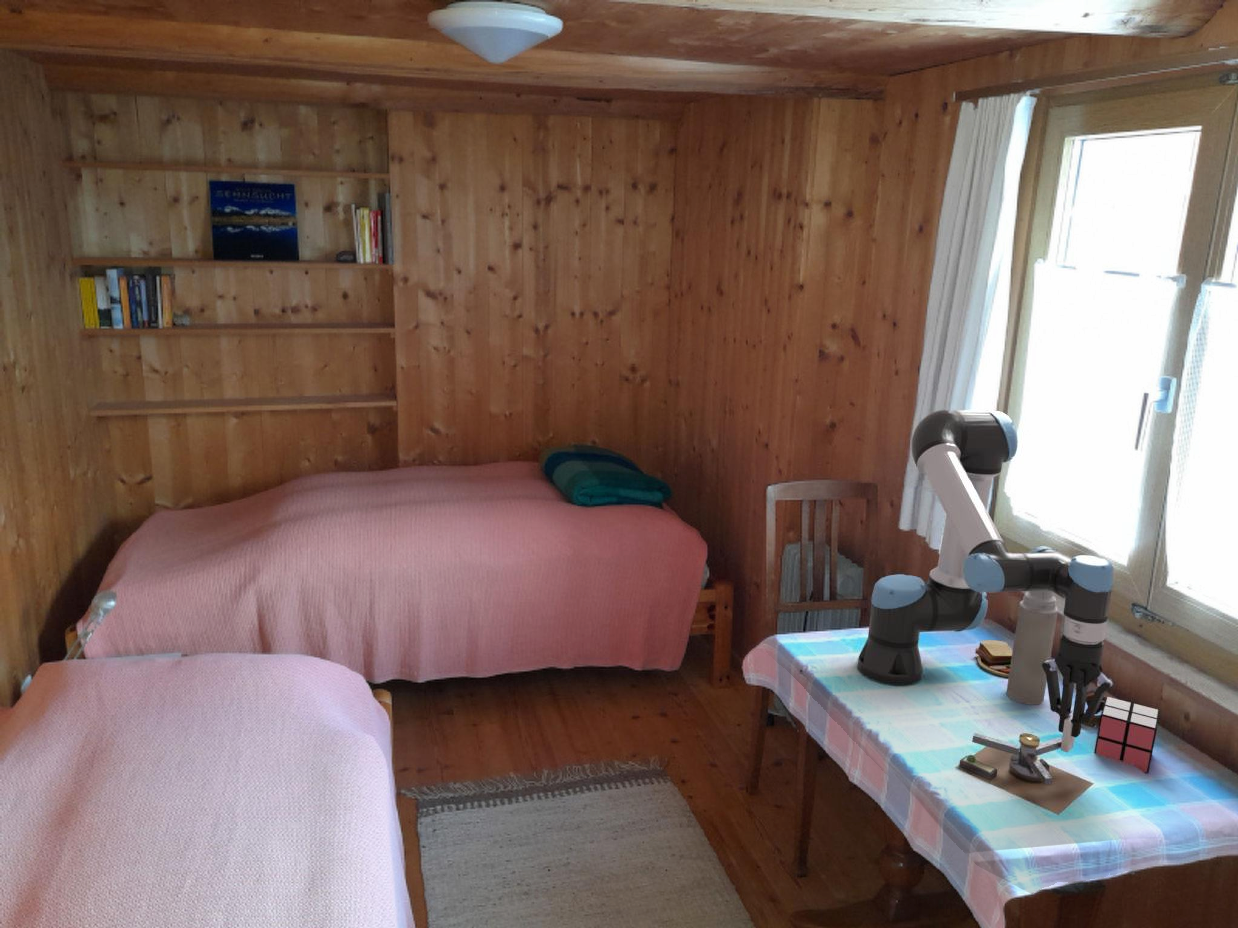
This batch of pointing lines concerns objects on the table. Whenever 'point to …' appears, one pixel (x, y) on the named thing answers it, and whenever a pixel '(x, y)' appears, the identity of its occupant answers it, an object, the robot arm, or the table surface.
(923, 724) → the table surface
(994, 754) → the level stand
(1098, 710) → the pottery mug
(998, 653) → the toy sandwich meal
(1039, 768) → the cam capstan
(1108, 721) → the puzzle cube
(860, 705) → the table surface
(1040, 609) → the thermos bottle
